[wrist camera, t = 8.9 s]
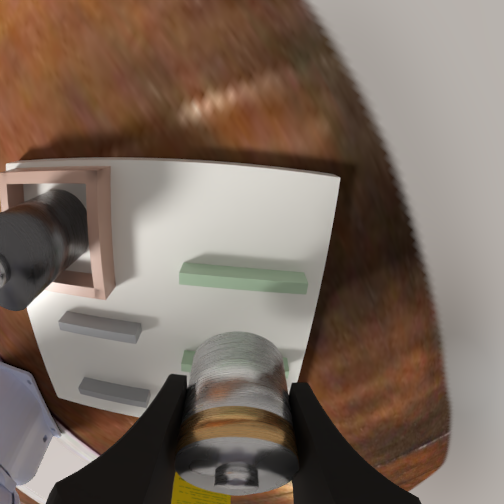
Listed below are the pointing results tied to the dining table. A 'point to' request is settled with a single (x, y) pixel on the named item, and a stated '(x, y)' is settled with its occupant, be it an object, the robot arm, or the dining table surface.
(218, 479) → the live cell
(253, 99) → the dining table surface
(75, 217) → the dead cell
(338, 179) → the tester board
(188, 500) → the supplement box
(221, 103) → the dining table surface
